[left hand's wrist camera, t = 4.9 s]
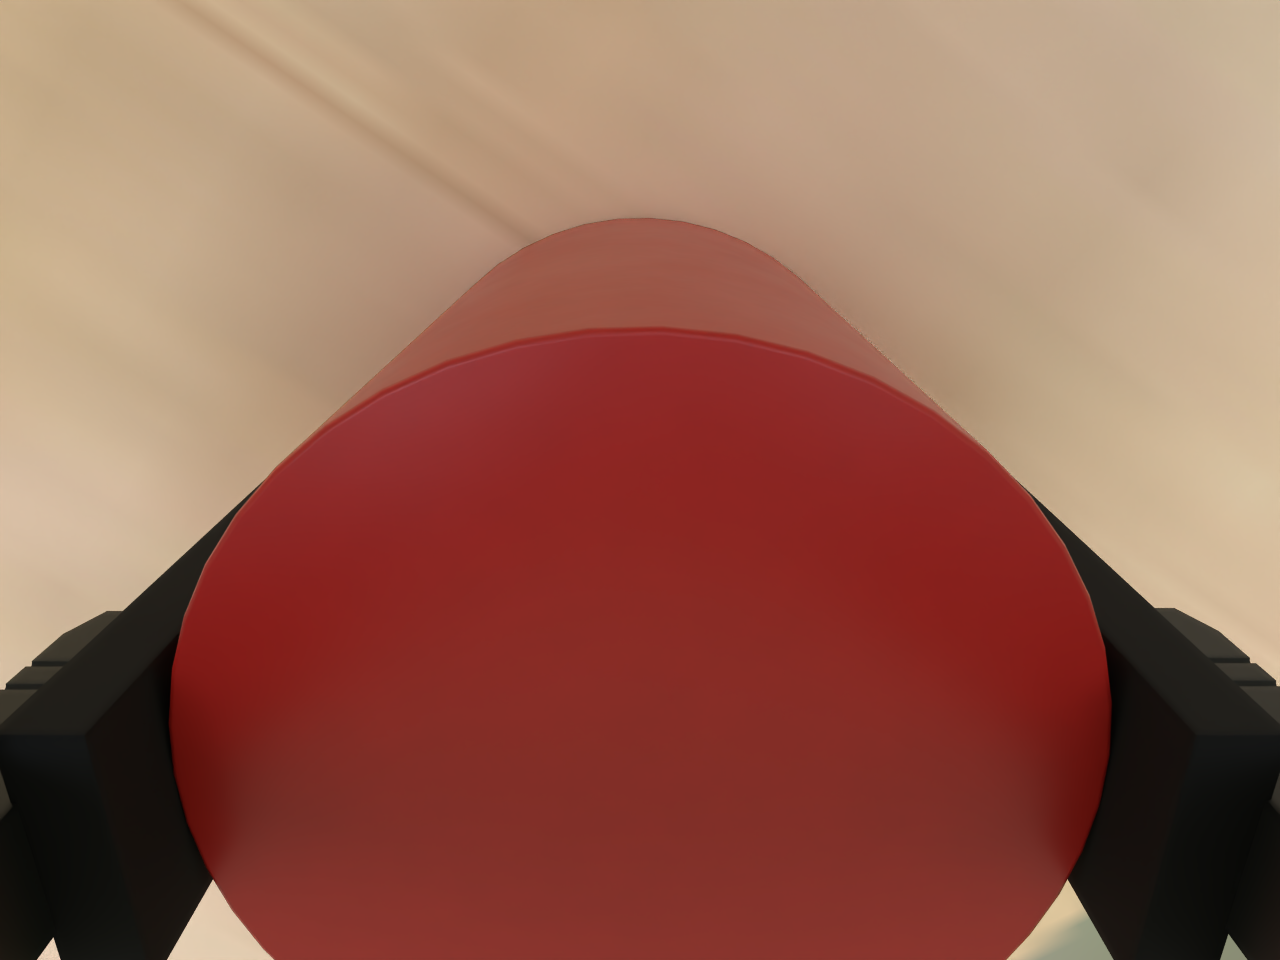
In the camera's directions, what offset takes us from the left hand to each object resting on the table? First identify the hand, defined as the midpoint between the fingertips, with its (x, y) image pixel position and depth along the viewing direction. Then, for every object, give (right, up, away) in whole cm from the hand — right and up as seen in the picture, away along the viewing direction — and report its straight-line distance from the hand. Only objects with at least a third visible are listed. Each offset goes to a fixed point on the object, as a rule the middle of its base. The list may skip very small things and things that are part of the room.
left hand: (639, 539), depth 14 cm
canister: (0, +1, +4) cm, 4 cm away
